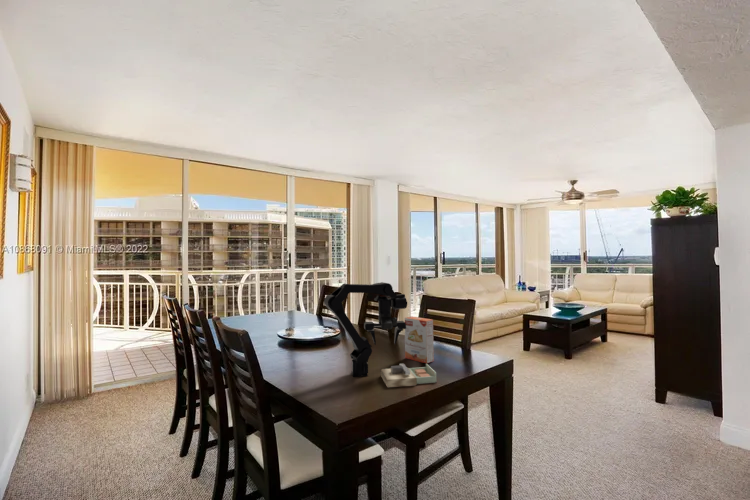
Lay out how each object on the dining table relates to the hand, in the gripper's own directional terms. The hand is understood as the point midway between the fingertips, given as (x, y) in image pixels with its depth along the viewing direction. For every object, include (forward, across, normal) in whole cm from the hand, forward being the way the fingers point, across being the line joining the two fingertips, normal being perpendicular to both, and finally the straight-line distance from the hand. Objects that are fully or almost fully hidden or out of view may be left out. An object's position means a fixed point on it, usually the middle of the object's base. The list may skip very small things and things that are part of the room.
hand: (385, 344), depth 171 cm
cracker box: (+12, +19, +14) cm, 27 cm away
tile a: (+10, +14, -15) cm, 23 cm away
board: (+12, +3, -14) cm, 19 cm away
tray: (+12, +14, -12) cm, 22 cm away
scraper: (+8, +7, -13) cm, 17 cm away
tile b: (+10, +14, -9) cm, 20 cm away
